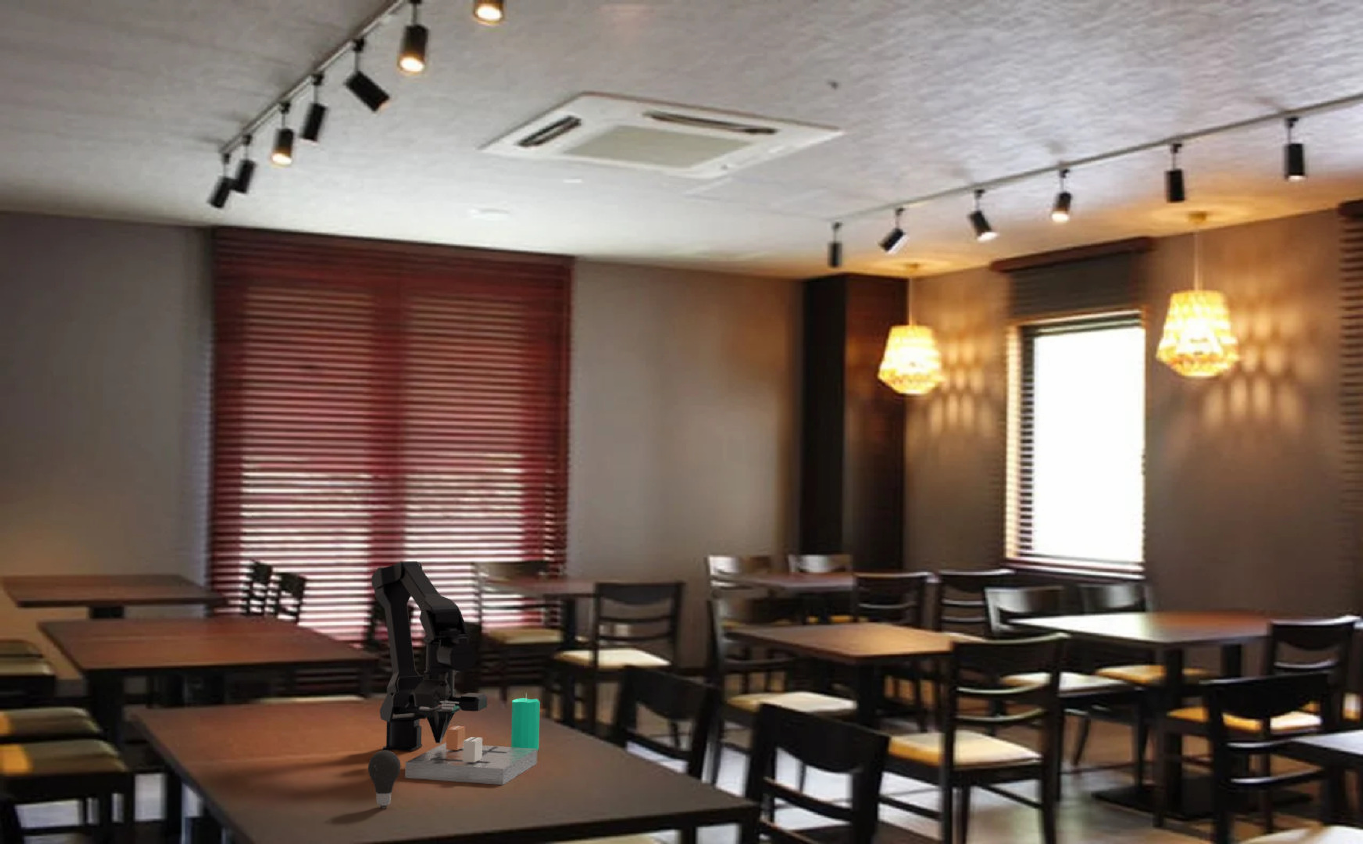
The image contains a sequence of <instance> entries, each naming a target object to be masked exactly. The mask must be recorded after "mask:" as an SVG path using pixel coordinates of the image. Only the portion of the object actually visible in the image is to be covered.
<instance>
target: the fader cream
mask: <svg viewBox="0 0 1363 844" xmlns="http://www.w3.org/2000/svg"><path fill="white" fill-rule="evenodd" d="M482 745H483V737H477V736H475V737H474V736H470V737H468V738H465V740H464V741H463V762H473V763H475V762H476V761H478V760H480V759H482Z"/></svg>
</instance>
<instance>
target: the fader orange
mask: <svg viewBox="0 0 1363 844" xmlns="http://www.w3.org/2000/svg"><path fill="white" fill-rule="evenodd" d="M445 736H446V741H445V743H446V749H448V750H459V749H461V748H462V747H463V741H464V740H466V726H462V725H453V726H451V727H448V728H447V730H446V735H445Z"/></svg>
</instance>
